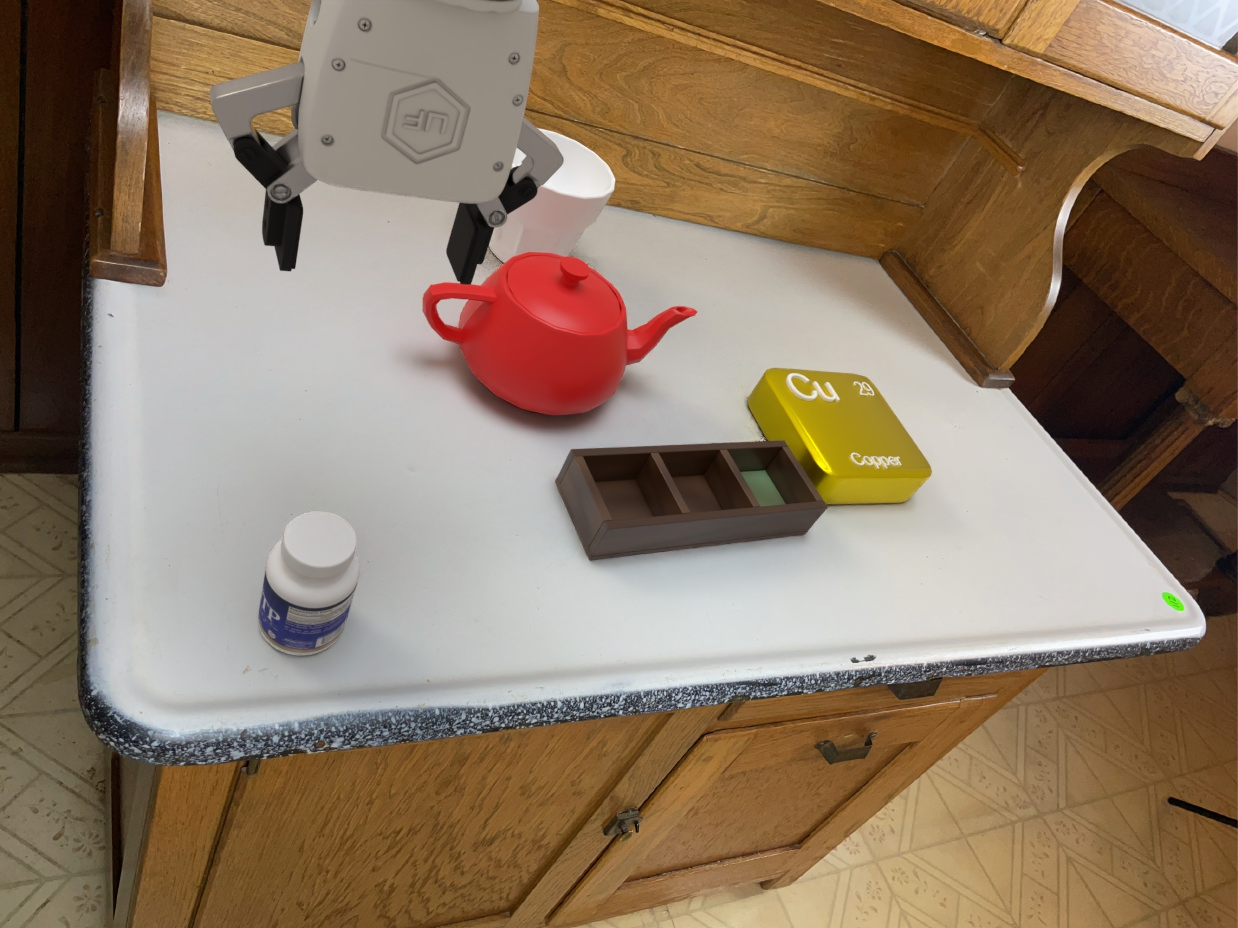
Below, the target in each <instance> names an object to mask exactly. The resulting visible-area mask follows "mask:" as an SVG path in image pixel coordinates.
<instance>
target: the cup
mask: <svg viewBox="0 0 1238 928" xmlns="http://www.w3.org/2000/svg"><path fill="white" fill-rule="evenodd" d="M537 128H538V129H539V130H540V131H541V132H542V133H543V134H545V135H546V136H547V137H548V138H549V139H551V140H552V141H553V142H554V143H555V144H556V146H557V147H558V149H559V151H560V153H561V154H562V156H563V158H564V162H563V164H562V166H561V167H560V168H559V169H558V170H557V171H556V172H555V173H554V174H553V175H552V176H551V177H550V179H549V180H548V181H547V182H546V183H545V184H544V185H543V186H542V185H541V186H540V187H539V188H538V191H537V195H536V196H535V198H533V199H532V200H531V201H529V202H527V203H526V204H524V205H522V206H521V207H519V208H517V209H516V210H514V211H513V212H511V213H509V214H508V215H507V216H508V217H507V221H506V222H505V224H504V225H502V226H500V227H495V228H494V231H493V234H492V237H491V240H490V243H489V246H488V247H489V249H490V251H491V252H492V254H494V255H495V257H496V258H497V259H498V260H499V261H500V262H501V263H503V264H504V263H505V262H506V261H508V260H509V259H510V258H511V257H514V256H517V255H520V254H523V253H527V252H543V253H553V254H557V255H560V256H564V257H569V256H570V254H571V252H572V251H573V250H574V247H575V246H576V245H577V243H578V242H579V240H580V239H581V237H582V236H583V234H584V232H585V231H586V230H587V229H588V228H589V227H590V226H592V225H593V224H594V223H596V221H597V220H598V218H599V216H600V215H601V213H602V211H603V210H604V208H605V207H606V205H607V204H608V201H609V200H610V198H611V196H612V195H613V193H614V191H615V186H616V177H615V175H614V173H613V171H612V169H611V167H610V165H609V164H608V163H606V161H604V160H603V159H602V158H601V157H600V156H599V155H598V154H597V153H596V152H594V151H593V150H592V149H590V148H588V147H586V146H585V145H583V144H582V143H581V142H578V141H577V140H575V139H573V138H570V137H567V136H566V135H563V134H561V133H558V132H555V131H552V130H549V129H548V130H547V129H543V128H539V127H537ZM525 157H526V154H524V153H523V152H522V151H521V150H519V149H518V148H516V152H515V156H514V159H513V163H512V167H511V169H512V168H514V167H516V166H520V165H521V164H522V161H523V160H524V159H525ZM496 167H497V166H496Z"/></svg>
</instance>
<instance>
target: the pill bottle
mask: <svg viewBox="0 0 1238 928" xmlns="http://www.w3.org/2000/svg"><path fill="white" fill-rule="evenodd" d="M357 544H358V538H357V534H356V531H355V529H354V527H353V526H352V525H351V524H350V522H348V520H346V518H344V517H342V516H340V515H338V514H336V513H332V512H329V511H324V510H313V511H307V512H304V513H301V514H299V515H297V516H296V517H294V518H293V519H291V521H290V522H288V524H287V525H286V527H285V528H284V531H283V535H282V538H281V539H279V540H278V541H277V542H276V543H275V545H274V546H273V547H272V549H271V550H270V552H269V553H268V557H267V560H266V562H265V563H266V564H265V569H264V576H263V583H262V589H261V593H260V594H261V597H260V600H259V607H258V613H257V622H258V623H257V624H258V629H259V630H260V633H261V635H262V637H263V639H264V640H265V641H266V642H267V643H268V644H269V645H270V646H271V647H272V648H274V649H276V650H277V651H279V652H282V653H284V654H287V655H292V656H312V655H315V654H318V653H321V652H323V651H325V650H327V649H329V648H330V647H331V646H333V645H334V644H335V643H336V642H337V641H338V640H339V639H340V638H341V636H342V634H343V632H344V630H345V627H346V623H347V621H348V618H349V617H348V616H349V614H350V610H351V607H352V606H351V605H352V602H353V599H354V595H355V592H356V589H357V586H358V582H359V578H360V573H361V563H360V562H361V561H360V559H359V555H358V553H357V550H356V549H357V546H358V545H357Z"/></svg>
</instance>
